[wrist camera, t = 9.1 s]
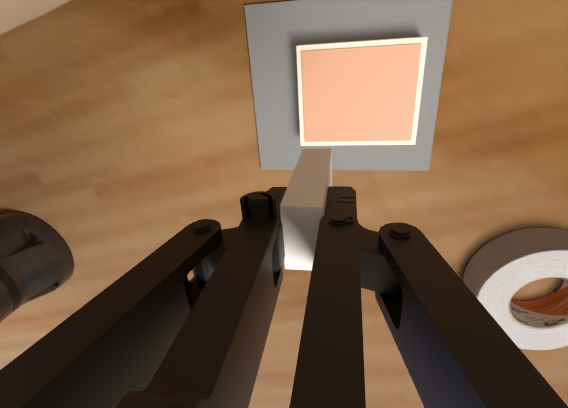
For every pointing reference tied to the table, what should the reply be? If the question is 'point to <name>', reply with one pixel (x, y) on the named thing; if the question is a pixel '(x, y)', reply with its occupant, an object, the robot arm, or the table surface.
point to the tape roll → (517, 273)
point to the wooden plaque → (360, 91)
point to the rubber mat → (328, 29)
